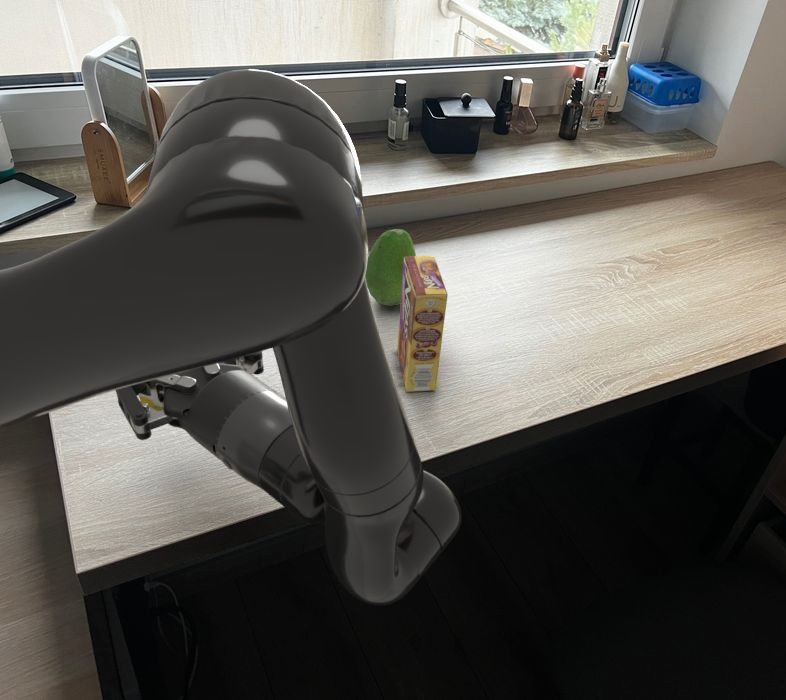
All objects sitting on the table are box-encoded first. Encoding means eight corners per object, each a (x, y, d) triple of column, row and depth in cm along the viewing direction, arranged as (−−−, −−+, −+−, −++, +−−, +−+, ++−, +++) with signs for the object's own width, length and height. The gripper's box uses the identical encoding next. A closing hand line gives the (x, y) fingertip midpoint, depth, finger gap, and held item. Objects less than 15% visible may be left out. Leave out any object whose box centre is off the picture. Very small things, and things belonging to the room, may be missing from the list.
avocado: (426, 300, 110) (432, 231, 103) (393, 322, 105) (396, 251, 97) (386, 280, 113) (389, 211, 106) (352, 300, 108) (352, 229, 101)
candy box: (438, 391, 94) (448, 294, 85) (406, 393, 93) (412, 295, 84) (427, 348, 101) (435, 254, 91) (396, 350, 100) (401, 255, 90)
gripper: (316, 360, 65) (198, 284, 73) (177, 443, 56) (58, 346, 63) (318, 420, 70) (207, 343, 77) (190, 506, 60) (78, 409, 68)
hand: (140, 345), depth 70 cm, fingers closed on supplement bottle, 4 cm apart
